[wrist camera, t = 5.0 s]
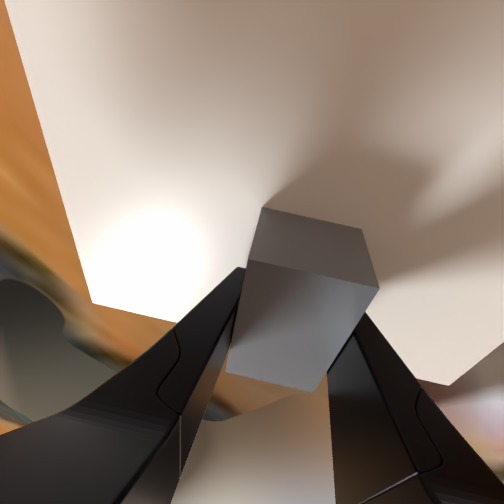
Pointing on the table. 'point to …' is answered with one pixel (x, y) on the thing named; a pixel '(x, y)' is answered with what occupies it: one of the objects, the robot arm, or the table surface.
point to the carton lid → (284, 168)
